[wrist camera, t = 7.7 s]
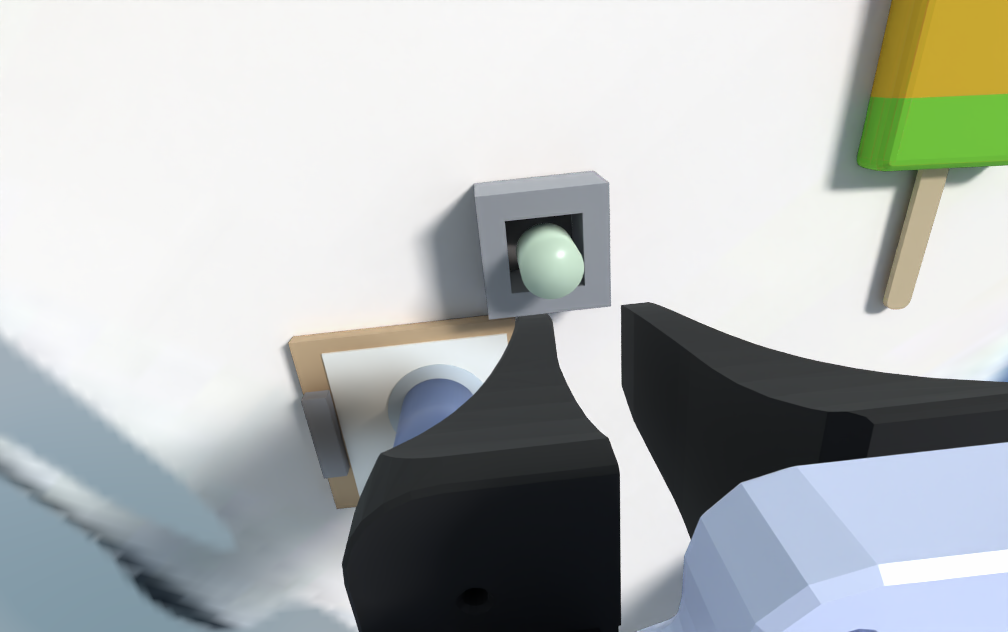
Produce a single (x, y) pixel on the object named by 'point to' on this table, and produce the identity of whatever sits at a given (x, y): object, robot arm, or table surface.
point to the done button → (549, 261)
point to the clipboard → (383, 385)
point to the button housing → (533, 200)
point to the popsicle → (936, 110)
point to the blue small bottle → (429, 406)
